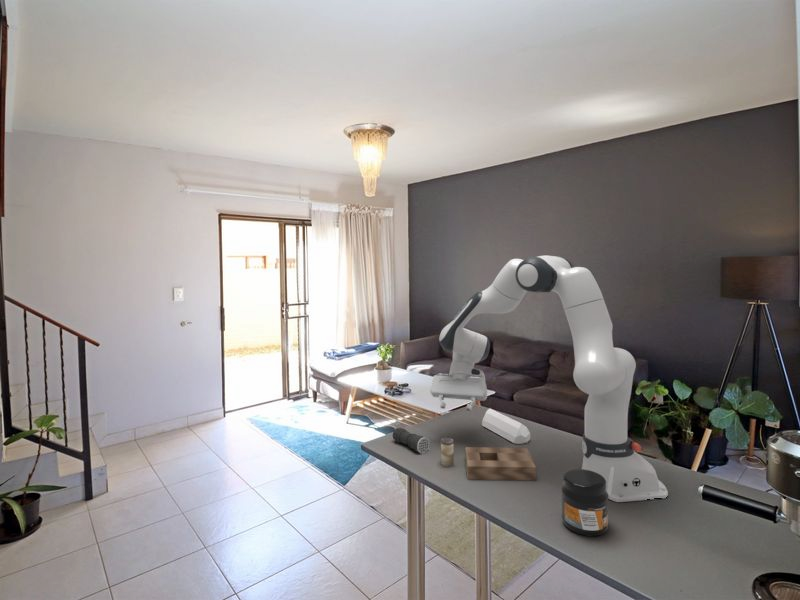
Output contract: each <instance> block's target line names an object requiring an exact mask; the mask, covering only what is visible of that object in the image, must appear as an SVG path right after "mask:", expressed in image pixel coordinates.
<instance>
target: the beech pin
mask: <svg viewBox="0 0 800 600" xmlns="http://www.w3.org/2000/svg"><path fill="white" fill-rule="evenodd" d="M454 452H455V451H454V439H453V438H451V437H443V438H441V439H440V456H441V461H440V462H441V466H442V467H446V468H450V467H453V466H454V463H455V460H454V459H455V458H454V456H455V455H454Z"/></svg>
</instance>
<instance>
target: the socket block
mask: <svg viewBox="0 0 800 600" xmlns="http://www.w3.org/2000/svg"><path fill="white" fill-rule="evenodd" d="M464 451H465V467H466V474H467V479H468V480H485V481H487V480H488V481H489V480H490V481H493V480H496V481H502V480H503V481H537V466H536V464H535V462H534V460H533V457H532V456H531V454H530V451H529V450H528V447H487V446H485V447H484V446H483V447H481V446H479V447H478V446H476V447H475V446H473V447H472V446H471V447H470V446H468V447H467V446H466V447H465V449H464Z"/></svg>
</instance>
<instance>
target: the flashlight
mask: <svg viewBox="0 0 800 600" xmlns="http://www.w3.org/2000/svg"><path fill="white" fill-rule="evenodd" d="M392 438H393V440H394V441H395V442H397V443H399V444H404V445H407V446H408V447H409V448H411V449H412V450H414V452H415V451H416V452H418V453H419V454H424V453H426V452H428V450H429V448H430V440H429V439H428V438H427V437H425V436H423V435H419V434H416V433H411V432H410V431H408V430H407V429H406V428H402V427H397V428H394V430H393V431H392Z"/></svg>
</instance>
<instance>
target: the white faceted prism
mask: <svg viewBox="0 0 800 600" xmlns="http://www.w3.org/2000/svg"><path fill="white" fill-rule="evenodd" d="M481 425H482V427H484V428H486V429H488V430H490V431H492V432H493V433H495V434H497V435H499V436H501V437H502V438H504V439H506V440H508V441H509V442H511V443H513V444H515V445H523V444H527V443H528V442H529V441H531V433H530V430H529V428H528V427H527V426H526V425H524V424H523V423H521V422H519V421H517V420H515V419H514V418H511V417H509V416H507V415H504V414H502V413H500V412H498V411H496V410H494V409H492V408H488V409H487V410H486V411H485V414H484V416H483V418H482V421H481Z"/></svg>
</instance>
